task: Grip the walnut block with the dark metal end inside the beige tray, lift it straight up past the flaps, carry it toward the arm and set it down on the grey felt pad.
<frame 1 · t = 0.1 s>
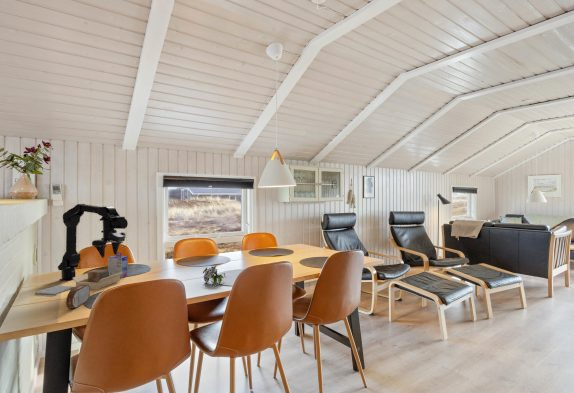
hand: (109, 256, 182), 15 cm above the table, tool pointing down, fingers open, 9 cm apart
tin: (79, 305, 144), on the table
felt pad: (55, 291, 165), on the table
ink cartridge box: (118, 277, 192), on the table
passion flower: (213, 283, 177), on the table
walnut block: (98, 283, 176), resting on beige tray
beige tray: (98, 284, 176), on the table
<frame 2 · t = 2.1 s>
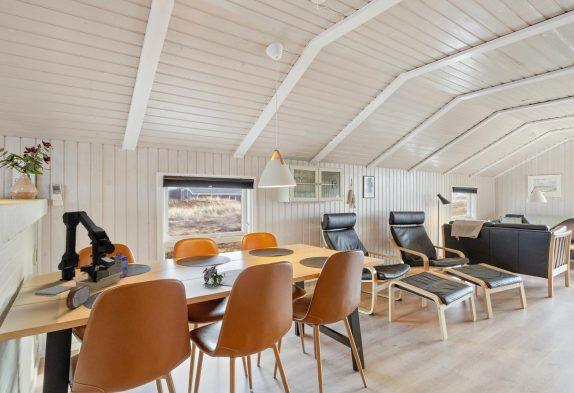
hand: (98, 281, 176), 2 cm above the table, tool pointing down, fingers closed on walnut block, 5 cm apart
walnut block: (98, 283, 176), resting on beige tray, touching gripper
everything else where it was.
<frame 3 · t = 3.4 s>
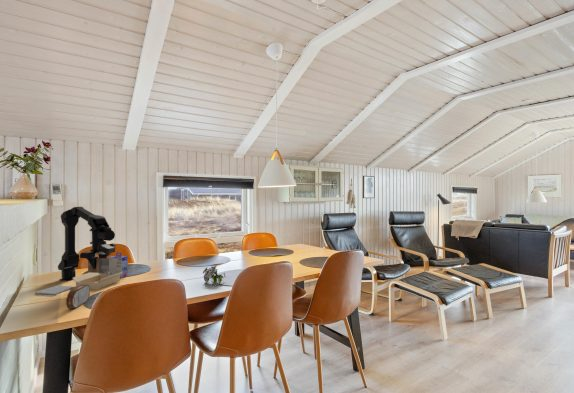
hand: (98, 268, 176), 9 cm above the table, tool pointing down, fingers closed on walnut block, 5 cm apart
walnut block: (98, 271, 176), point 7 cm above the table, touching gripper
everything else where it was.
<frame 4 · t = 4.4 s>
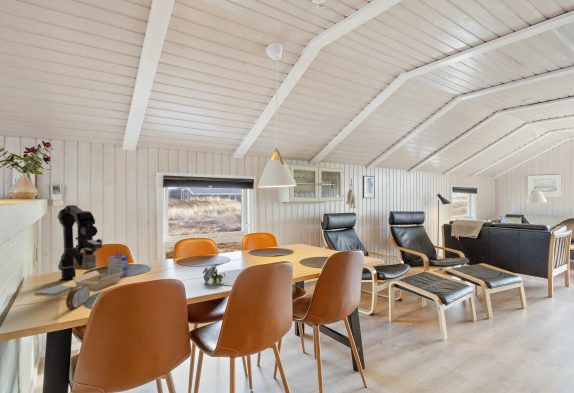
hand: (84, 264, 172), 12 cm above the table, tool pointing down, fingers closed on walnut block, 5 cm apart
walnut block: (84, 268, 172), point 10 cm above the table, touching gripper
everything else where it was.
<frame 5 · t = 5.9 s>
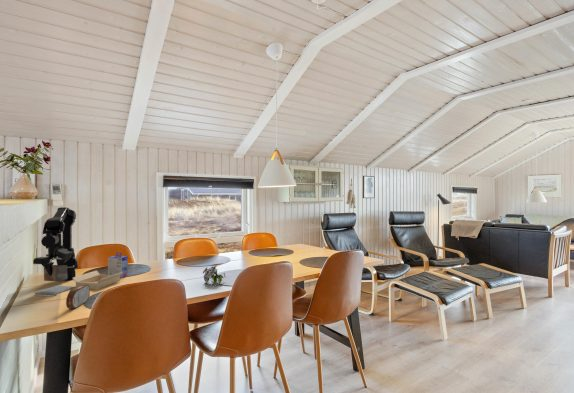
hand: (55, 274, 165), 9 cm above the table, tool pointing down, fingers closed on walnut block, 5 cm apart
walnut block: (55, 279, 165), point 6 cm above the table, touching gripper
everything else where it was.
when the fingers open (4 cm above the table, at t = 7.0 s): walnut block stays where it is, resting on felt pad.
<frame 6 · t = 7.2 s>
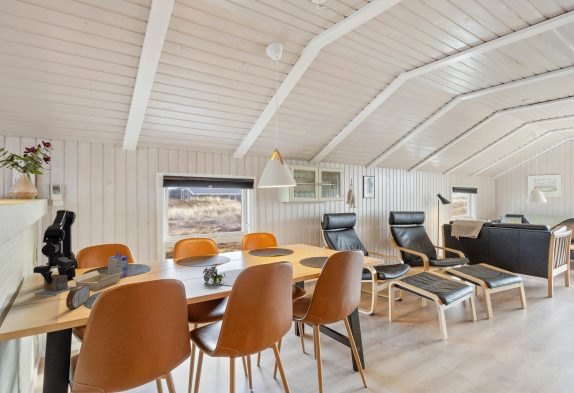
hand: (55, 282, 165), 4 cm above the table, tool pointing down, fingers open, 6 cm apart
walnut block: (56, 289, 165), point 1 cm above the table, touching felt pad
everything else where it was.
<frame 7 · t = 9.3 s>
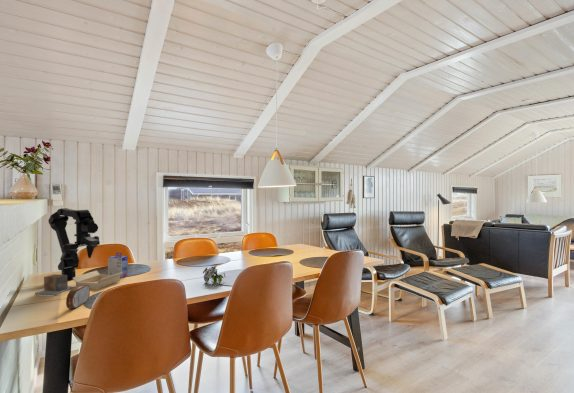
hand: (82, 259, 181), 13 cm above the table, tool pointing down, fingers open, 9 cm apart
nothing on the table moved.
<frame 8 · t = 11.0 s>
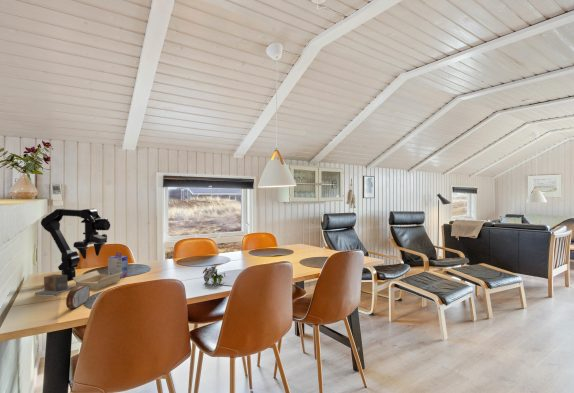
hand: (91, 257, 187), 13 cm above the table, tool pointing down, fingers open, 9 cm apart
nothing on the table moved.
at the end: walnut block inside the target area on the felt pad (0.1 cm from its centre), point 1.0 cm above the felt pad's base; walnut block tilted 0°; walnut block touching felt pad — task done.
